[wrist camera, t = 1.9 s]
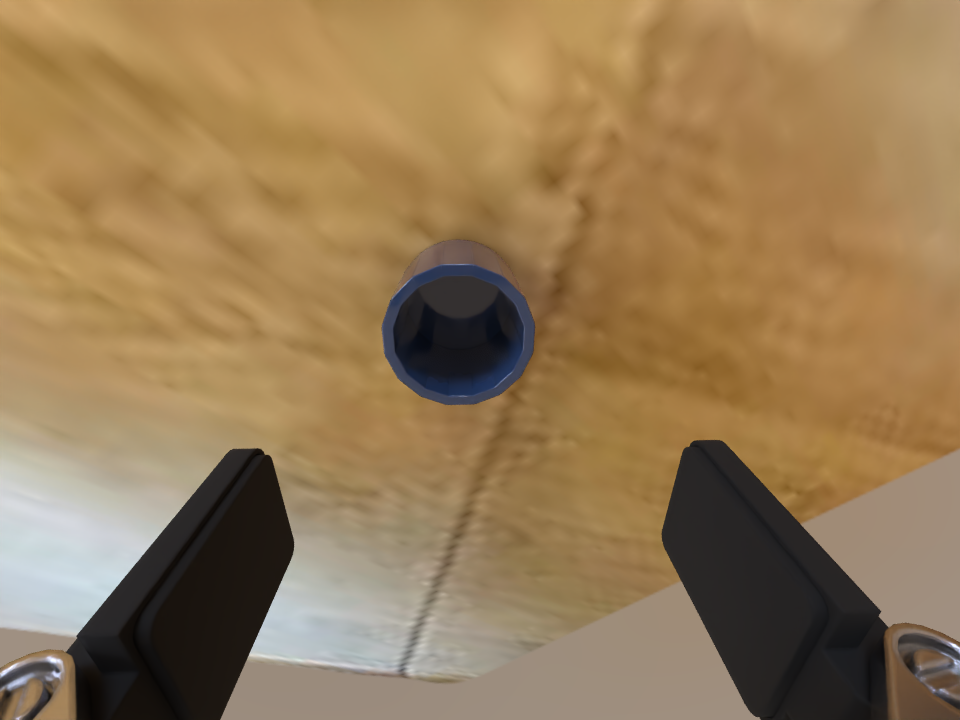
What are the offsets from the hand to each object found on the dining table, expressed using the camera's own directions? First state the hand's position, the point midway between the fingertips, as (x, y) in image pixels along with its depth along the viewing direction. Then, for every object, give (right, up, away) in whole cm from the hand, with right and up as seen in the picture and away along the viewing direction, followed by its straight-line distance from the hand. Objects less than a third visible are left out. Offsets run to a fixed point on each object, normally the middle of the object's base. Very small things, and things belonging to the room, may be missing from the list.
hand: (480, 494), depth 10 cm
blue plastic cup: (-1, +7, +14) cm, 15 cm away
